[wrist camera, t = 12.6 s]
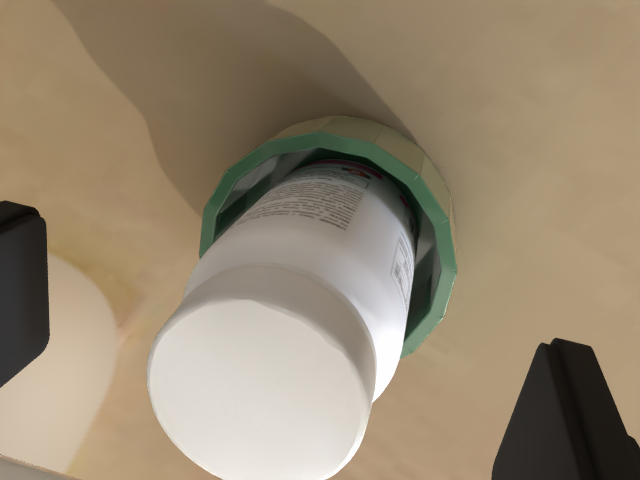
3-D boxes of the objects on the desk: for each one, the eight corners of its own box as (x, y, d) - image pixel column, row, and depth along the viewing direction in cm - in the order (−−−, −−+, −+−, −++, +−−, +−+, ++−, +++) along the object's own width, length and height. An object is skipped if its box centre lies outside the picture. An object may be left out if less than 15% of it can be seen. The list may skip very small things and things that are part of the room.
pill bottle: (234, 235, 18) (76, 392, 11) (328, 121, 16) (218, 210, 9) (348, 331, 19) (275, 550, 11) (453, 231, 17) (453, 409, 9)
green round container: (196, 192, 18) (152, 221, 16) (372, 67, 16) (356, 77, 13) (316, 355, 20) (294, 409, 17) (497, 263, 17) (506, 309, 14)
